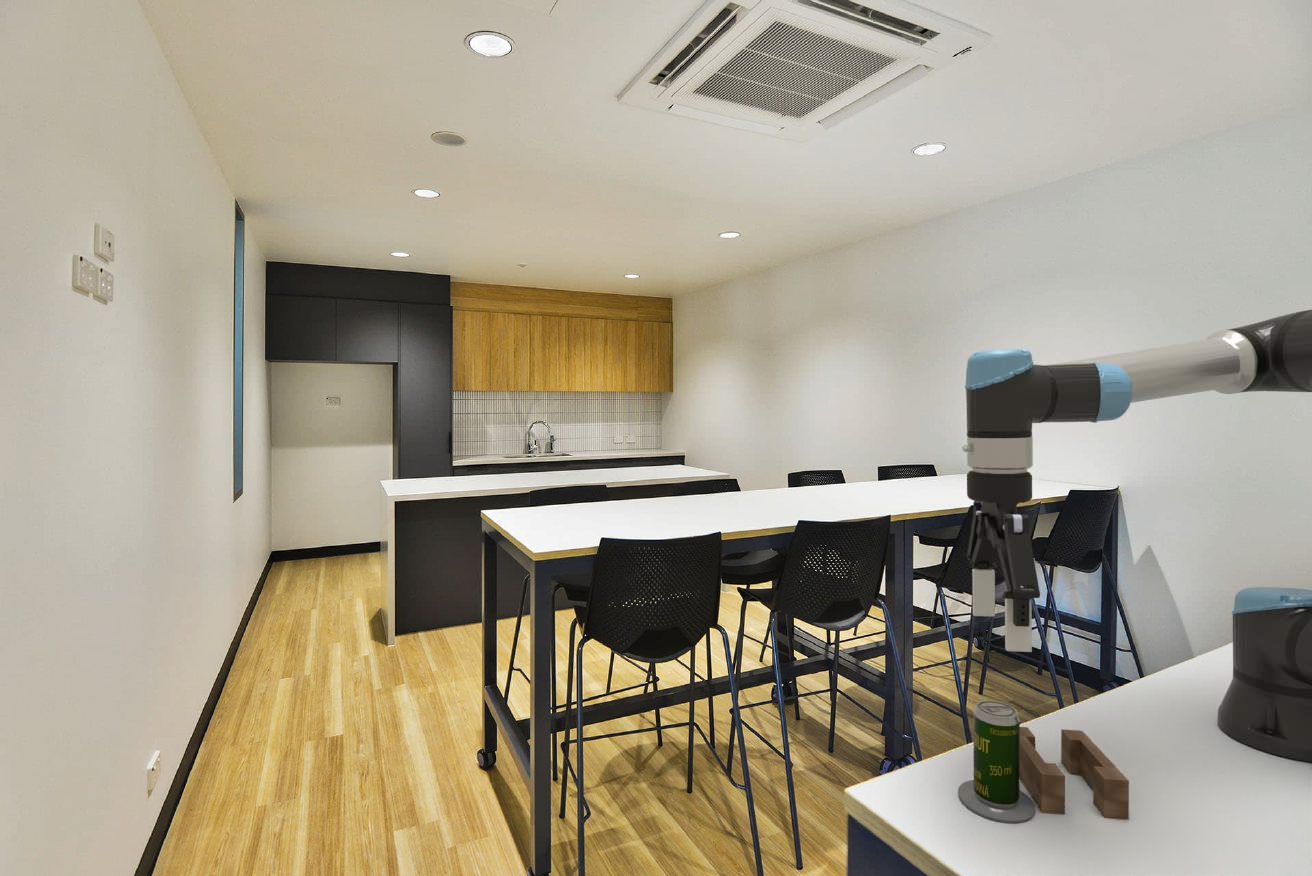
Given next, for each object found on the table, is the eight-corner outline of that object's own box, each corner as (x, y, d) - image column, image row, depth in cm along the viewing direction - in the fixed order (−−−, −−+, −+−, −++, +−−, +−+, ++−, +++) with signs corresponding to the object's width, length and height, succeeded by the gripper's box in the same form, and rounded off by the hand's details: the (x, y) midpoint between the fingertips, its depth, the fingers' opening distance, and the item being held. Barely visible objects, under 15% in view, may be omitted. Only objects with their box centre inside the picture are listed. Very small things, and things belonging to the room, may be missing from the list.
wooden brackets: (1082, 764, 95) (1082, 730, 95) (1128, 819, 83) (1128, 780, 82) (1007, 759, 97) (1007, 725, 97) (1041, 812, 85) (1041, 774, 84)
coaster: (1020, 785, 90) (1020, 782, 90) (1046, 826, 82) (1046, 822, 82) (950, 780, 92) (950, 776, 92) (968, 819, 83) (968, 815, 83)
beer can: (1002, 785, 90) (1003, 698, 89) (1028, 808, 84) (1029, 716, 84) (965, 788, 89) (965, 700, 89) (988, 811, 84) (989, 719, 83)
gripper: (944, 462, 98) (945, 602, 99) (999, 480, 74) (1000, 667, 75) (998, 461, 97) (999, 604, 98) (1073, 480, 73) (1073, 670, 73)
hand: (999, 631), depth 86 cm, fingers open, 13 cm apart
